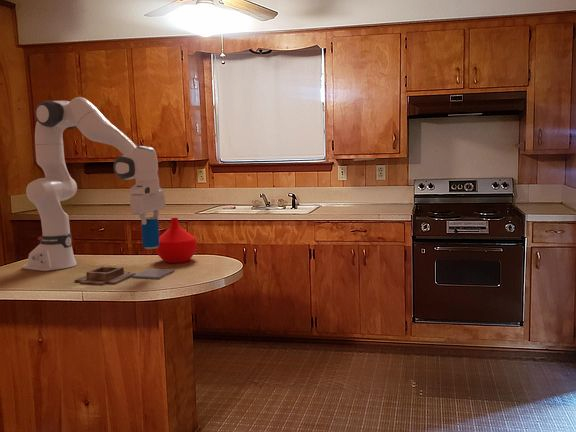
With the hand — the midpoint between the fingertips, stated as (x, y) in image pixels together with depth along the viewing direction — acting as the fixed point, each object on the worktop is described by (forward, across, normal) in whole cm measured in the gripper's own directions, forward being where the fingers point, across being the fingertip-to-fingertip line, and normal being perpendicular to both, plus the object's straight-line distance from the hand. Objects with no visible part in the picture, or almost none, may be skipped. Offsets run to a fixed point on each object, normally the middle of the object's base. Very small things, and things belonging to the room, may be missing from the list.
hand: (150, 222), depth 223 cm
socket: (+21, +9, -16) cm, 28 cm away
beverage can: (+10, 0, 0) cm, 10 cm away
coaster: (+21, 0, 0) cm, 21 cm away
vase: (+21, -25, -3) cm, 33 cm away
